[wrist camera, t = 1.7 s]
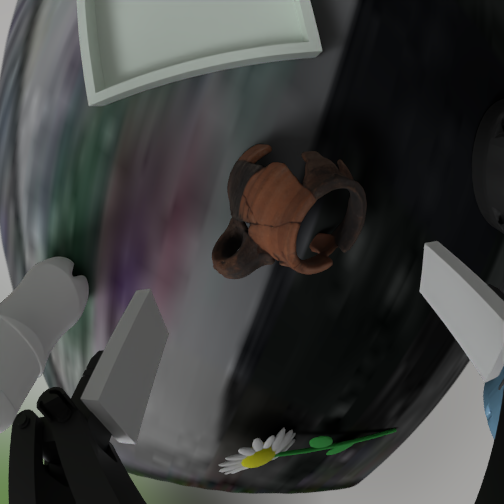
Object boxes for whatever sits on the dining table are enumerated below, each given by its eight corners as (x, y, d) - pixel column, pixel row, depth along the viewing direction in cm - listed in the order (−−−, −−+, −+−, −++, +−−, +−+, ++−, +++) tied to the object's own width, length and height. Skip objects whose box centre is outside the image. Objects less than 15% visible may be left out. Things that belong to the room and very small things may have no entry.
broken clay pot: (276, 110, 22) (352, 134, 16) (323, 183, 28) (387, 223, 22) (166, 219, 22) (204, 284, 16) (237, 272, 29) (283, 331, 23)
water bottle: (85, 317, 30) (-16, 503, 7) (38, 282, 28) (-85, 441, 5) (104, 275, 27) (-31, 497, 5) (52, 236, 26) (-114, 410, 3)
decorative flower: (404, 397, 40) (216, 424, 35) (416, 419, 35) (218, 454, 31) (375, 433, 46) (216, 456, 41) (383, 453, 41) (218, 480, 37)
